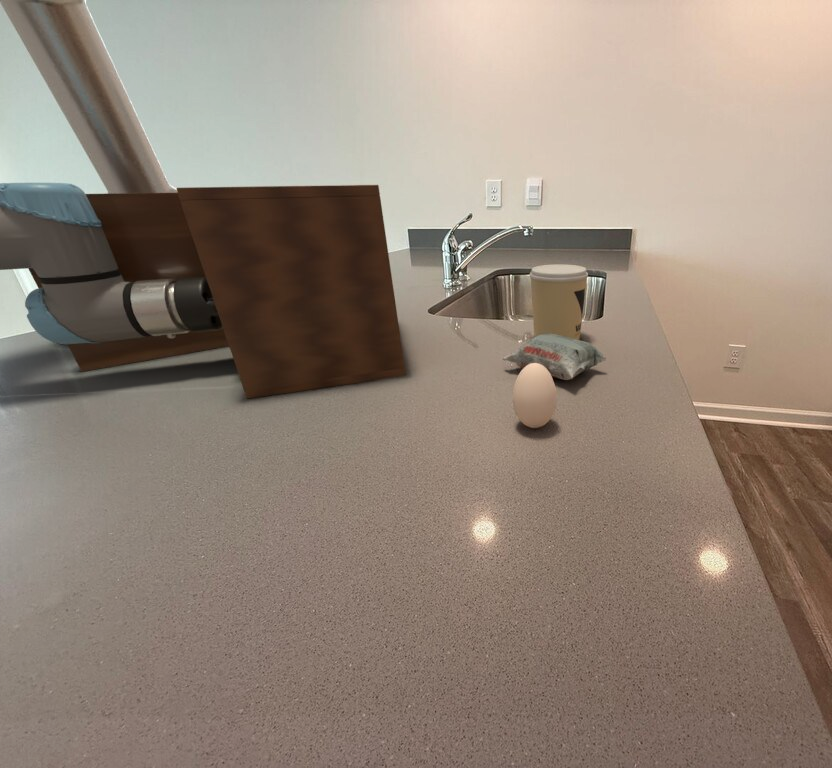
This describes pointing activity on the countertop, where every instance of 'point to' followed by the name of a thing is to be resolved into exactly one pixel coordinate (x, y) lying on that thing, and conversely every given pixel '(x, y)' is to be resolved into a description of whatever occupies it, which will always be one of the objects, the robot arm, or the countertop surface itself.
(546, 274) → the coffee cup
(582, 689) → the countertop surface
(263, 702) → the countertop surface
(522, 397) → the egg
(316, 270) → the wooden board
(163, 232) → the cupboard door
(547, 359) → the packaged food
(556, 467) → the countertop surface
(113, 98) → the robot arm
